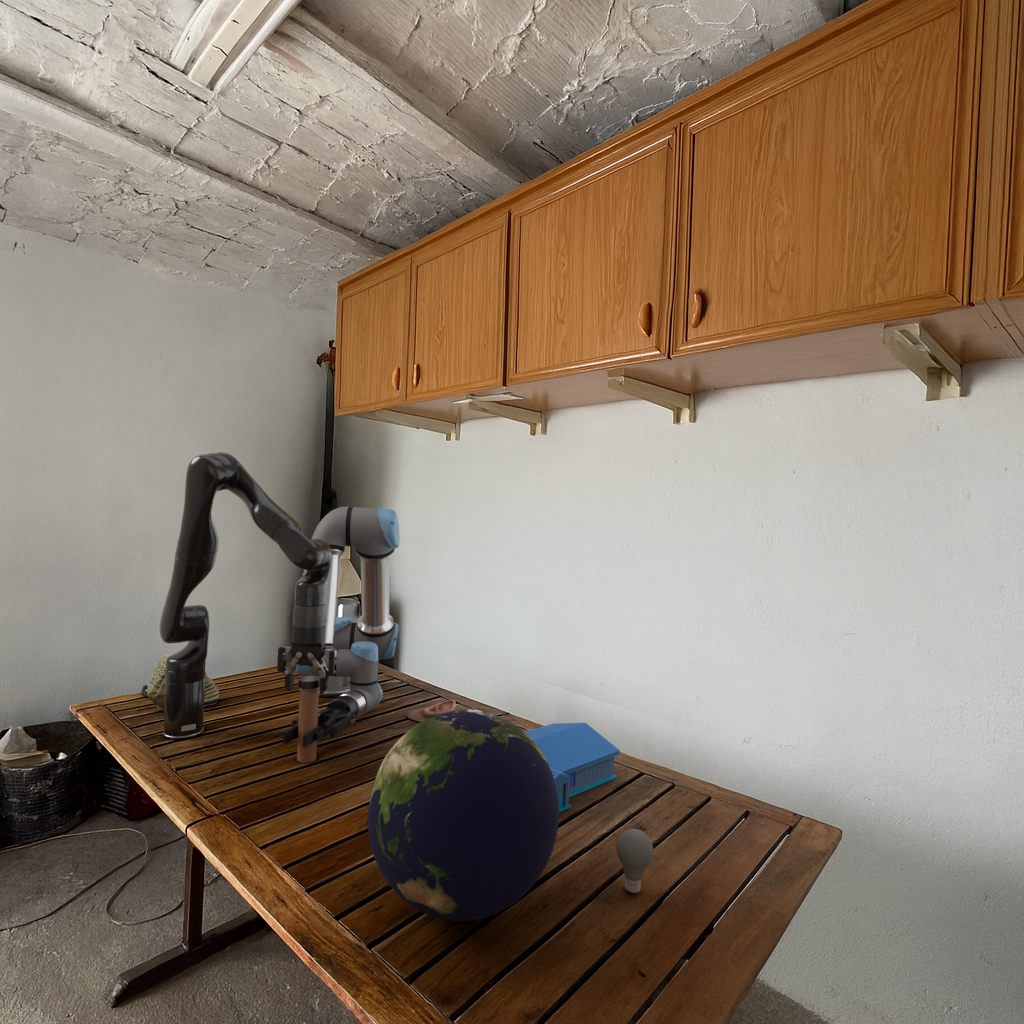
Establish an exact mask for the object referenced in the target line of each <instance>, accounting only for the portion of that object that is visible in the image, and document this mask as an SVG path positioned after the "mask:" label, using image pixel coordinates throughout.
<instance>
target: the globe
mask: <svg viewBox="0 0 1024 1024" xmlns="http://www.w3.org/2000/svg"><path fill="white" fill-rule="evenodd" d="M525 732H526V731H524V730H523V729H521V727H519V726H517V725H516V724H514V723H513V722H511V721H510V720H508V719H506V718H504V717H501V716H499V715H497V714H495V713H492V712H487V711H483V710H479V709H457V710H453V711H450V712H445V713H442V714H439V715H436V716H433V717H431V718H429V719H427V720H425V721H423V722H418V724H417V725H414V726H413V727H412V728H411V729H409V730H408V731H407V732H405V734H403V735H402V736H401V737H400V738H399V739H398V740H397V741H396V742H395V743H394V745H392V747H391V748H390V750H389V751H388V753H387V754H386V755H385V757H384V758H383V760H382V762H381V764H380V766H379V768H378V770H377V772H376V775H375V778H374V780H373V783H372V787H371V791H370V793H369V800H368V801H369V802H368V809H367V829H368V831H367V832H368V838H369V843H370V847H371V852H372V855H373V857H374V860H375V863H376V865H377V867H378V869H379V871H380V873H381V874H382V876H383V878H384V880H385V881H386V883H387V885H389V886H390V888H391V889H392V890H393V891H394V892H395V894H397V896H399V897H400V898H401V900H403V902H405V903H406V904H408V905H409V906H410V907H412V908H414V909H415V910H417V911H419V912H421V913H423V914H425V915H428V916H430V917H432V918H436V919H440V920H443V921H448V922H449V921H450V922H471V921H477V920H482V919H486V918H488V917H491V916H494V915H496V914H499V913H501V912H502V911H505V910H506V909H508V908H510V907H511V906H512V905H514V904H515V903H517V902H518V901H519V900H520V899H521V898H522V897H524V896H525V895H526V894H527V893H528V892H529V891H530V890H531V889H532V888H533V886H534V885H535V884H536V883H537V881H538V880H539V879H540V877H541V876H542V874H543V872H544V870H545V869H546V867H547V865H548V863H549V860H550V858H551V856H552V853H553V851H554V847H555V845H556V840H557V835H558V832H559V823H560V812H559V801H558V793H557V788H556V784H555V780H554V777H553V774H552V771H551V769H550V766H549V764H548V761H547V760H546V758H545V756H544V754H543V753H542V751H541V750H540V748H539V747H538V746H537V744H536V743H535V742H534V741H533V740H532V739H531V738H530V737H529V736H528V735H527V734H526V733H525Z"/></svg>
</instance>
